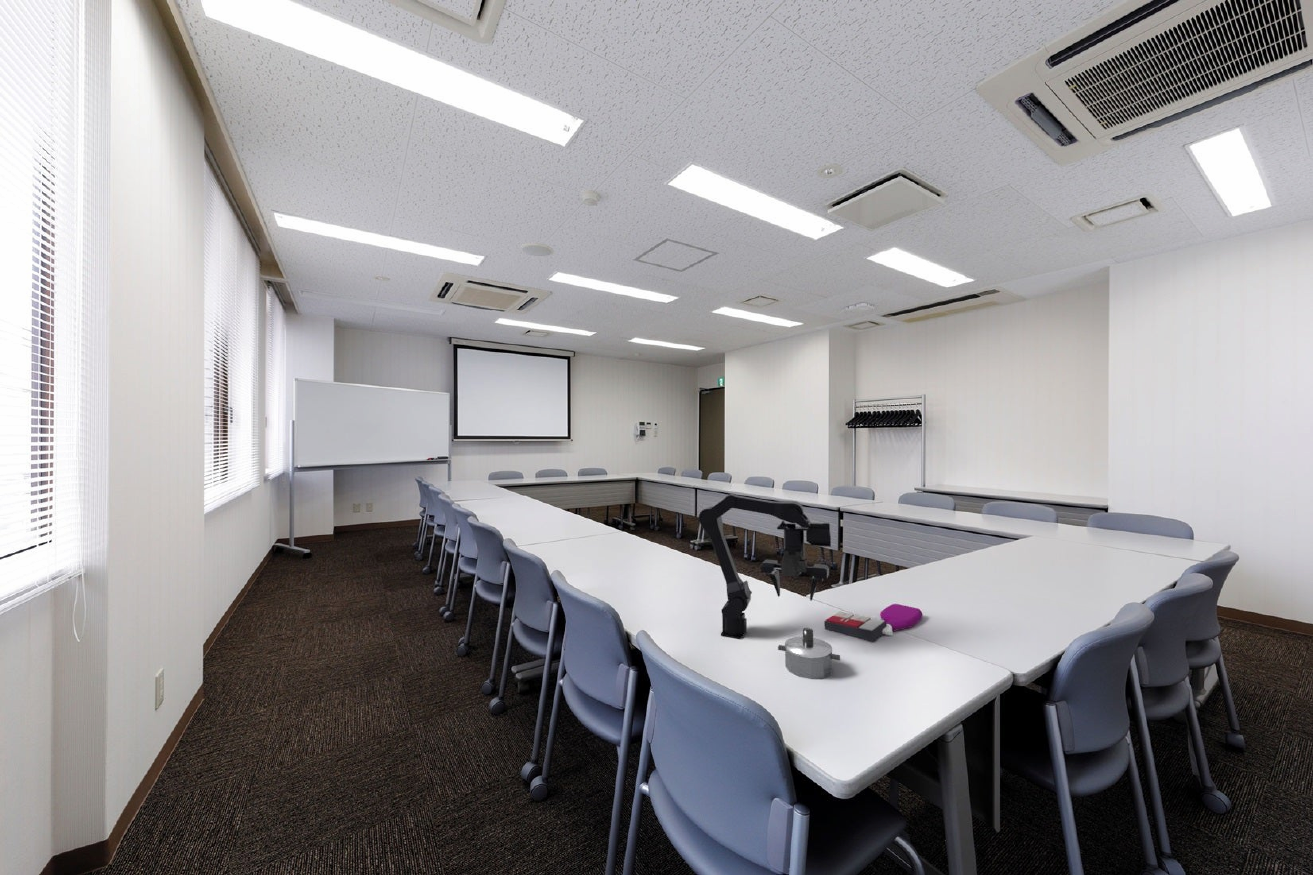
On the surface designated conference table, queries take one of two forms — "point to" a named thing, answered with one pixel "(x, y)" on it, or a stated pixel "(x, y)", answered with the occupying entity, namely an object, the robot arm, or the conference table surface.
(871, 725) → the conference table surface
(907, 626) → the purple squeeze pouch
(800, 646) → the lid
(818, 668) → the pot
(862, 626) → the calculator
